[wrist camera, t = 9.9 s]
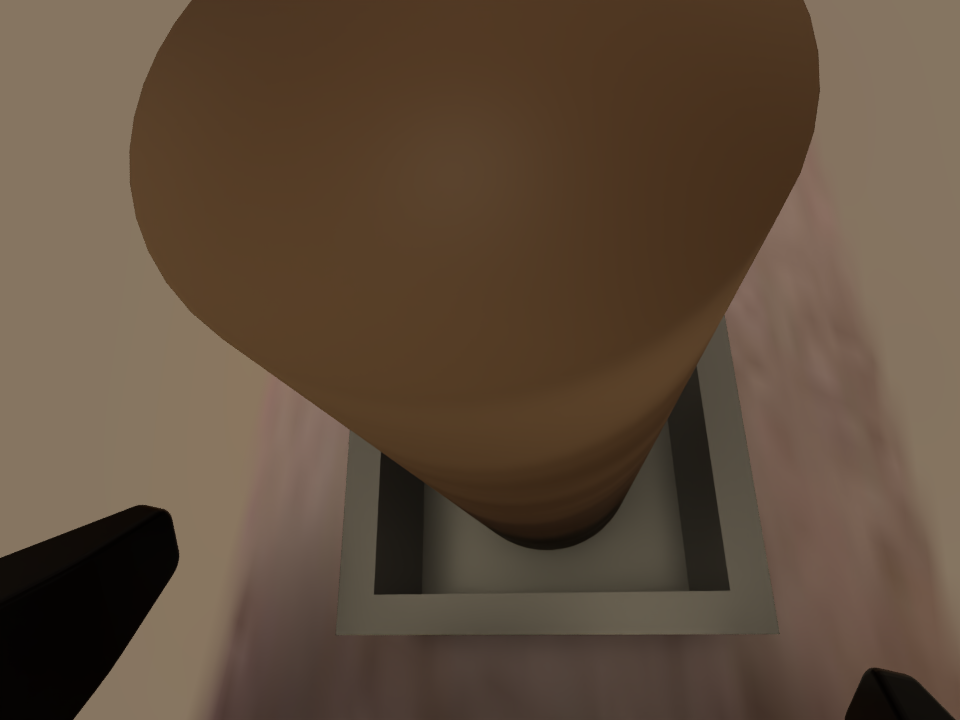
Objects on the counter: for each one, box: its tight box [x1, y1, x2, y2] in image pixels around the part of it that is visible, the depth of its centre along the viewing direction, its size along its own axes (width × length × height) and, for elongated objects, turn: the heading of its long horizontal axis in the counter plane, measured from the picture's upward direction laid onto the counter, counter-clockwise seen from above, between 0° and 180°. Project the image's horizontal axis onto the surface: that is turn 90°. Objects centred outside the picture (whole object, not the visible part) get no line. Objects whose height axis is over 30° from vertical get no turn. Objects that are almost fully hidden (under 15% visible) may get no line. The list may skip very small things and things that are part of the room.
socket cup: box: [336, 315, 780, 635], centre depth 15 cm, size 8×8×5 cm
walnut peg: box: [130, 0, 820, 550], centre depth 10 cm, size 4×4×13 cm
